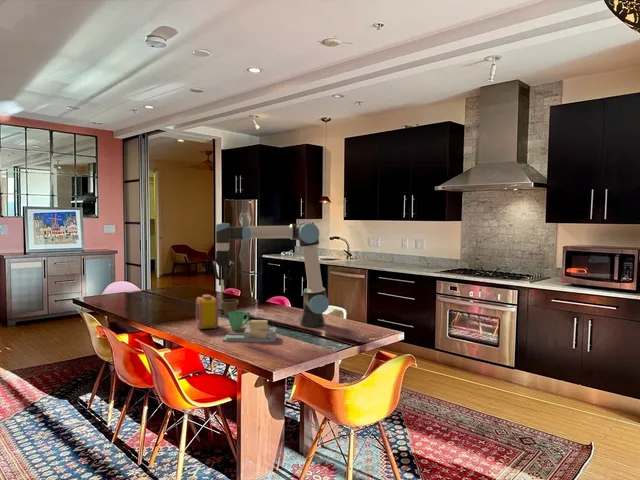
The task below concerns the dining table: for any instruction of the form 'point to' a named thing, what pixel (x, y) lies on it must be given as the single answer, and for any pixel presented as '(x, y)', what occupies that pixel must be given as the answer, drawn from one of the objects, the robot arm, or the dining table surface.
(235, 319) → the mug
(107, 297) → the dining table surface
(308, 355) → the dining table surface
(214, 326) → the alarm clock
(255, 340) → the vise
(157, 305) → the dining table surface
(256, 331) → the maple block
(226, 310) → the flower pot
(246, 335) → the slide jaw
